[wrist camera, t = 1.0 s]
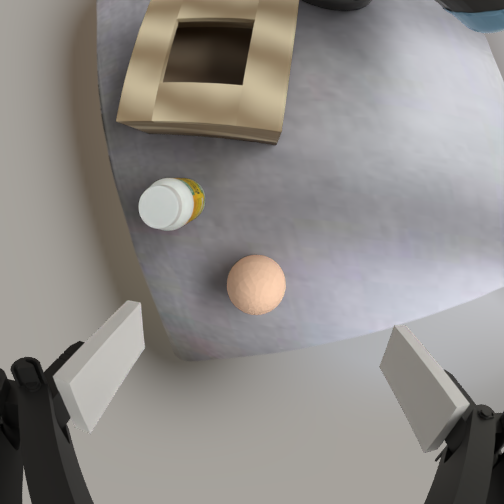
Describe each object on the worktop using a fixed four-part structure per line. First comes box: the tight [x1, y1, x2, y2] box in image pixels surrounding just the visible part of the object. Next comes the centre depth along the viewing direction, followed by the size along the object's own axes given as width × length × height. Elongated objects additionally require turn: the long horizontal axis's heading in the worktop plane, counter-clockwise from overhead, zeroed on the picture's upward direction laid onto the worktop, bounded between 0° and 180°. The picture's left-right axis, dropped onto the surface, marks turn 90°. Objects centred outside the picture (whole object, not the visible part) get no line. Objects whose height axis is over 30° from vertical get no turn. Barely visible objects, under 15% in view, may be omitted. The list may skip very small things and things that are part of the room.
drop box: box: [116, 0, 299, 145], centre depth 25 cm, size 16×16×9 cm
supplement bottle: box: [139, 178, 205, 231], centre depth 28 cm, size 5×5×10 cm
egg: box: [227, 255, 286, 315], centre depth 31 cm, size 7×7×8 cm
